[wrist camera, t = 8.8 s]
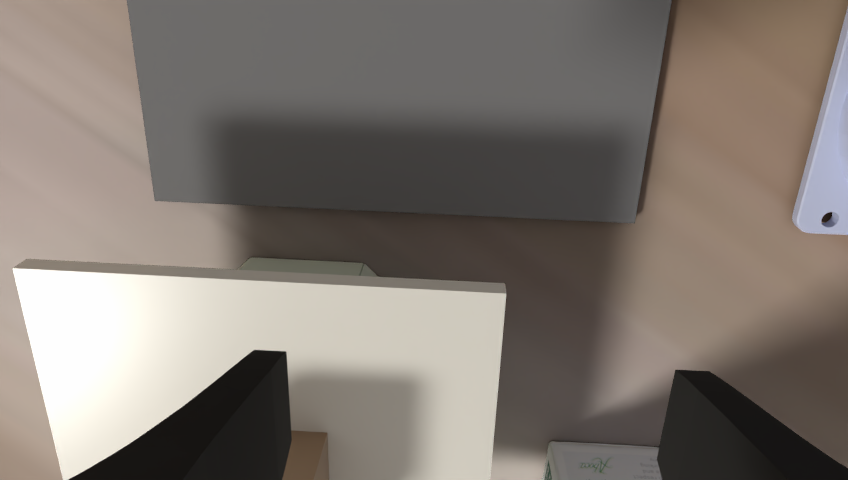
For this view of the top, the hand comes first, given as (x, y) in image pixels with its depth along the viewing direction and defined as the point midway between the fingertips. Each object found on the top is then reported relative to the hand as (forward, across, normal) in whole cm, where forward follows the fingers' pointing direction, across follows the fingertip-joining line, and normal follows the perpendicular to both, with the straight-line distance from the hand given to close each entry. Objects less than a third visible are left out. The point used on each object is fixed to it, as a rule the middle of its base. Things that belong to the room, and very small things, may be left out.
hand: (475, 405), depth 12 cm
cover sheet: (+6, +6, +6) cm, 10 cm away
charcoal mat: (+10, +2, -7) cm, 13 cm away
